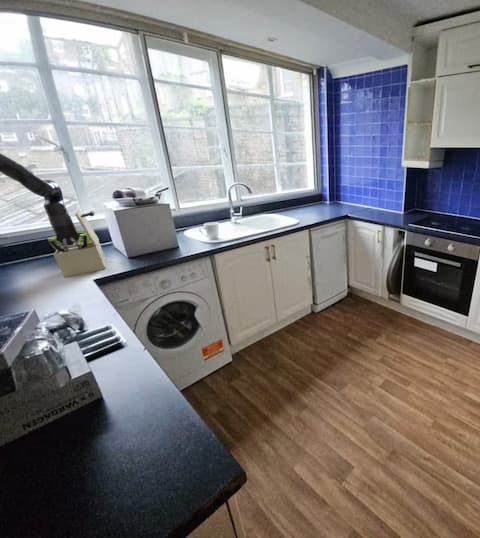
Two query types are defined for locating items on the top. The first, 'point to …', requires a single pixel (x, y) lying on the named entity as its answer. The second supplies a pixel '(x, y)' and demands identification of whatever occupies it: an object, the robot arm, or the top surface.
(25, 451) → the top surface
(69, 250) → the orange block
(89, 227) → the lid
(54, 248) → the green angular block
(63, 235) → the robot arm
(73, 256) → the bin
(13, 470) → the top surface
